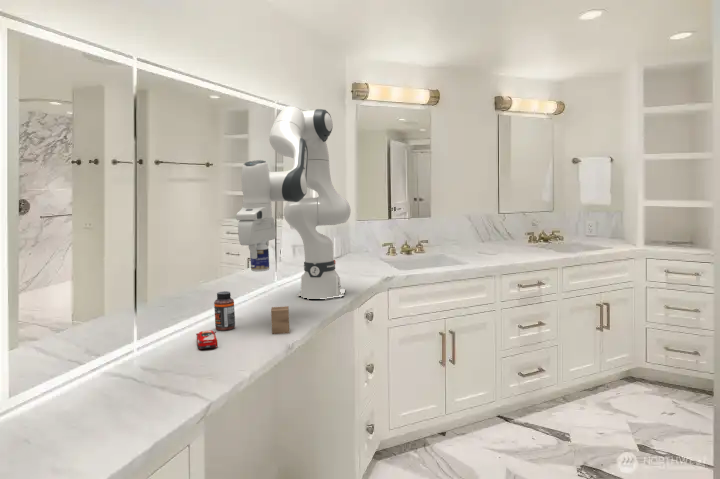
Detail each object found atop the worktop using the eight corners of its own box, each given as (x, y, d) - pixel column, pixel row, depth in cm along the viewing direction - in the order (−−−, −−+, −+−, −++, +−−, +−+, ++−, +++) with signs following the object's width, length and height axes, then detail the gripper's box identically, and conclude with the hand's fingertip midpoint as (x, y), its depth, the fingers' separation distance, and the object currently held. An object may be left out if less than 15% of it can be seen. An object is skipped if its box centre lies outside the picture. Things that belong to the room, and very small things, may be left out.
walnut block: (272, 330, 162) (271, 307, 161) (289, 329, 163) (288, 306, 162) (272, 334, 157) (271, 310, 157) (289, 333, 158) (288, 309, 157)
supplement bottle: (211, 329, 165) (209, 292, 164) (228, 325, 170) (226, 289, 169) (222, 332, 161) (220, 295, 160) (239, 328, 166) (237, 291, 165)
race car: (196, 340, 154) (195, 326, 154) (215, 338, 156) (215, 324, 156) (197, 352, 142) (196, 337, 141) (218, 350, 143) (217, 335, 143)
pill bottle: (257, 272, 165) (255, 240, 164) (247, 270, 169) (245, 239, 168) (273, 270, 169) (271, 238, 168) (263, 268, 173) (261, 237, 172)
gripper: (261, 211, 178) (263, 252, 179) (233, 214, 158) (235, 261, 160) (279, 211, 177) (281, 252, 178) (253, 214, 157) (255, 261, 158)
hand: (259, 256), depth 169 cm, fingers closed on pill bottle, 6 cm apart
